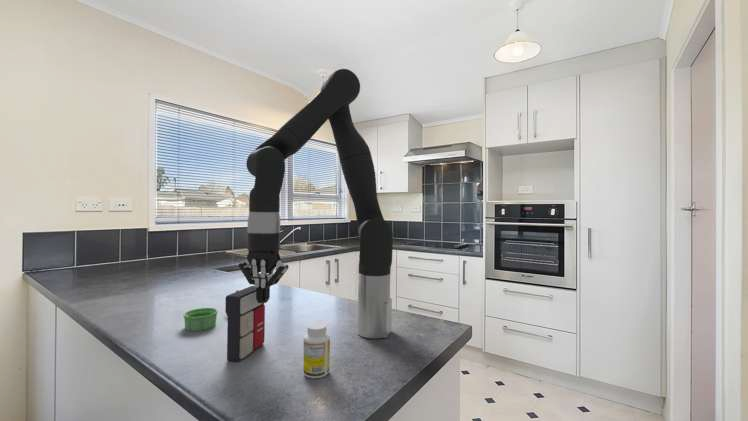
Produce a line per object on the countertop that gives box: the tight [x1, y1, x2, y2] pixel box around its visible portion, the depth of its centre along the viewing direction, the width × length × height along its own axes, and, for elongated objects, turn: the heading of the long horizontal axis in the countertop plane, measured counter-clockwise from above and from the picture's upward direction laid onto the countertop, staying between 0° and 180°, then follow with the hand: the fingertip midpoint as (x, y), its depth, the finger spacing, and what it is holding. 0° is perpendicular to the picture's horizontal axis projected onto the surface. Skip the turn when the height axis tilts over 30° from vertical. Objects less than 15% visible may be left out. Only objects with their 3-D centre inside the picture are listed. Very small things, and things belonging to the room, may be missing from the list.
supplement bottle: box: [303, 322, 331, 379], centre depth 70 cm, size 6×6×10 cm
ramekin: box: [183, 307, 218, 332], centre depth 96 cm, size 9×9×4 cm
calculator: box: [224, 285, 266, 363], centre depth 80 cm, size 11×4×15 cm, turn 168°
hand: (262, 302), depth 79 cm, fingers closed
